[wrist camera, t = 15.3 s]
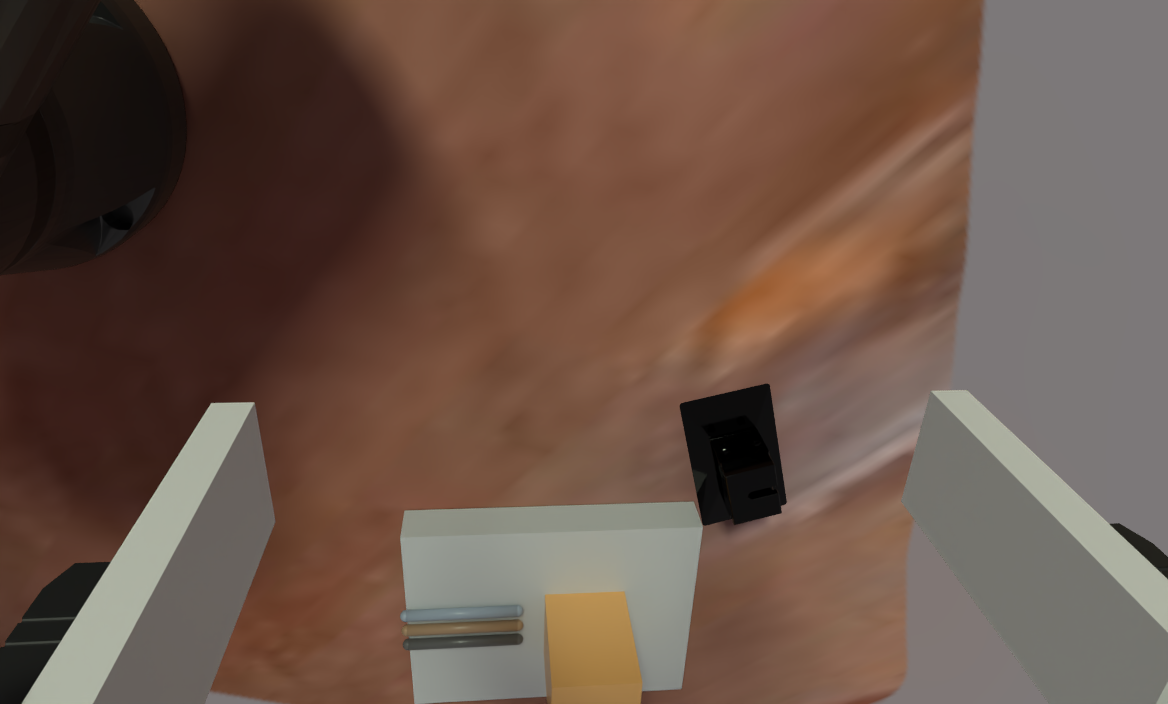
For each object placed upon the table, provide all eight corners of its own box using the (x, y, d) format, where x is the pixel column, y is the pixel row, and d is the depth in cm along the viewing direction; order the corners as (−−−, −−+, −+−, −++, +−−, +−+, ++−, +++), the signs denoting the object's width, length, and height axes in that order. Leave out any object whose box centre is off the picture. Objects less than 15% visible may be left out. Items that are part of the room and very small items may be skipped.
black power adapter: (797, 512, 52) (822, 561, 48) (689, 538, 53) (706, 589, 48) (776, 352, 47) (804, 391, 42) (656, 382, 47) (671, 424, 43)
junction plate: (412, 673, 55) (399, 789, 47) (399, 510, 48) (380, 614, 41) (674, 659, 57) (701, 769, 49) (693, 501, 50) (728, 599, 43)
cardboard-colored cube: (543, 652, 51) (549, 749, 45) (544, 594, 49) (551, 687, 43) (619, 649, 52) (636, 743, 46) (624, 591, 50) (642, 682, 44)
